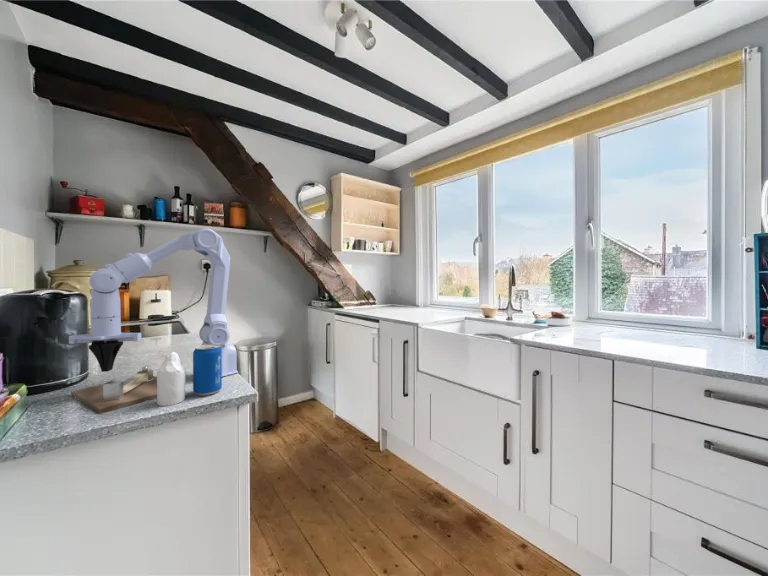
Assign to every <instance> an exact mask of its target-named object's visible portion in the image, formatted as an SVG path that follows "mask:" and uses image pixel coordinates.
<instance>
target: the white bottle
mask: <svg viewBox="0 0 768 576" xmlns="http://www.w3.org/2000/svg"><path fill="white" fill-rule="evenodd" d="M156 372H157V373H156V377H157V398H156V403H157V405H158V406H161V407H165V406H166V407H167V406H173V405H176V404H179V403H182V402H184V401H185V399H186V375H187V373H186V368H185V367H184V366H183V362H182V360H181V358H180V355H179V354H178V352H175V351H171V352H170V353H169V354H167V355H166V357H165V359H164V360H163V362H162V363H161V365H160V366H159V367H158V369H157V370H156Z"/></svg>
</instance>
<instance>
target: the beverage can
mask: <svg viewBox="0 0 768 576" xmlns="http://www.w3.org/2000/svg"><path fill="white" fill-rule="evenodd" d="M222 379H223V377H222V350H221V348H220V345H217V344H207V345H202V344H201V345H200V344H199V345H196V346H195V347H194V351H193V352H192V389H193V390H192V392H193V393H194V394H196V395H197V396H199V397H204V396H205V395H207V396H211V395H210V394H212V395H215V394H217V393H219V391H221V390H222V388H223V386H222V385H223V383H222V382H223V381H222ZM216 392H217V393H216ZM214 393H215V394H214Z"/></svg>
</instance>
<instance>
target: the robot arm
mask: <svg viewBox="0 0 768 576" xmlns="http://www.w3.org/2000/svg"><path fill="white" fill-rule="evenodd" d="M191 250H193V251H195V252H196V253H199V254H200V255H203V256H204V257H205V258H206V259H207V260H208V262H210V263H211V266H210V276H209V277H210V278H209V285H208V286H209V287H208V297H207V309H206V315H205V316H204V319H203V324H202V326H201V328H200V329H199V332H198V336H199V338H200V340H201V341H202V343H201V345H207V344H217V345H220V348H221V350H222V378H223V377H226V376H231V375H234V374H238V373H239V371H238V370H237V369H238V368H237V365H238V363H237V362H238V361H237V360H238V359H237V358H238V356H237V355H238V353H237V349H236V347H235V345H233V343H228V342H229V339H230V332H229V329H228V321H227V318H226V309H227V308H226V307H227V298H228V288H229V278H230V267H231V255H230V253H229V252H228V250H227V248H226V246H225V244H224V240H223V237H222V236H220V234H218V233H217V232H216V231H214V230H213V229H212V228H208V227H204V228H203V227H202V228H200V229H198V230H197V231H191V232H188V233H185V234H182V235H179V236H177V237H175V238H173V239H172V240H170V241H168V242H166V243H163V244H162V245H160V246H158V247H156V248H154V249H153V250H150V251H149V252H146V253H140V252H134V253H131V252H128V253H125V255H124V257H123V258H122V259H121V258H120V260H117V261H116V262H113V263H111V264H110V263H106V264H105V265H104V267H105V268H99V269H97V271H94V272H93V273H92V274H90V278H89V282H88V283H89V285H90V287H91V288H92V289H91V291H90V297H91V298H90V300H89V302H90V303H89V304H90V333H86V334H85V333H84V334H83V333H82V334H73V335H69V336H68V344H69V345H73V344H86V343H87V344H89V343H91V344H90V345H88V349H89V351H90V352H91V353H92V355H94V357H95V358H96V360H97V363H98V364H99V368H100V370H101V372H110V371H112V370H113V368H114V364H115V361H116V359H117V356H118V354H119V351H120V350H121V347H122V346H123V344H124V342H139V341H142V337H143V336H142V332H122V328H121V327H122V321H121V320H122V319H121V318H122V317H121V315H122V312H121V311H122V310H121V298H120V290H119V288H120V287H121V286H122V284H124V283H125V284H128V283H130V282H133V281H134V280H136V279H138V278H140V277H142V276H144V275H145V274H147V273H149V272H151V271H152V269H153V265H154V264H155V263H157V262H159V261H162V260H163V259H166V258H168V257H169V256H172V255H175V254H176V253H179V252H180V251H191ZM233 370H234V371H236V373H235V372H234V371H233Z"/></svg>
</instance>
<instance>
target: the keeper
mask: <svg viewBox="0 0 768 576" xmlns="http://www.w3.org/2000/svg"><path fill="white" fill-rule="evenodd" d="M148 370H149V366H147V365H146V366H142V367H141V371H148ZM153 379H154V378H152V379H150V380H147V381H145V382H148V381H151V380H153ZM132 380H134V376H133V375H119V376H117V377H115V378H113V379H111V380H109V381H107V382H105V383H103V401H106V400H120V399H121V398H123V385H125V384H127V383H129V382H131V381H132Z"/></svg>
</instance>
